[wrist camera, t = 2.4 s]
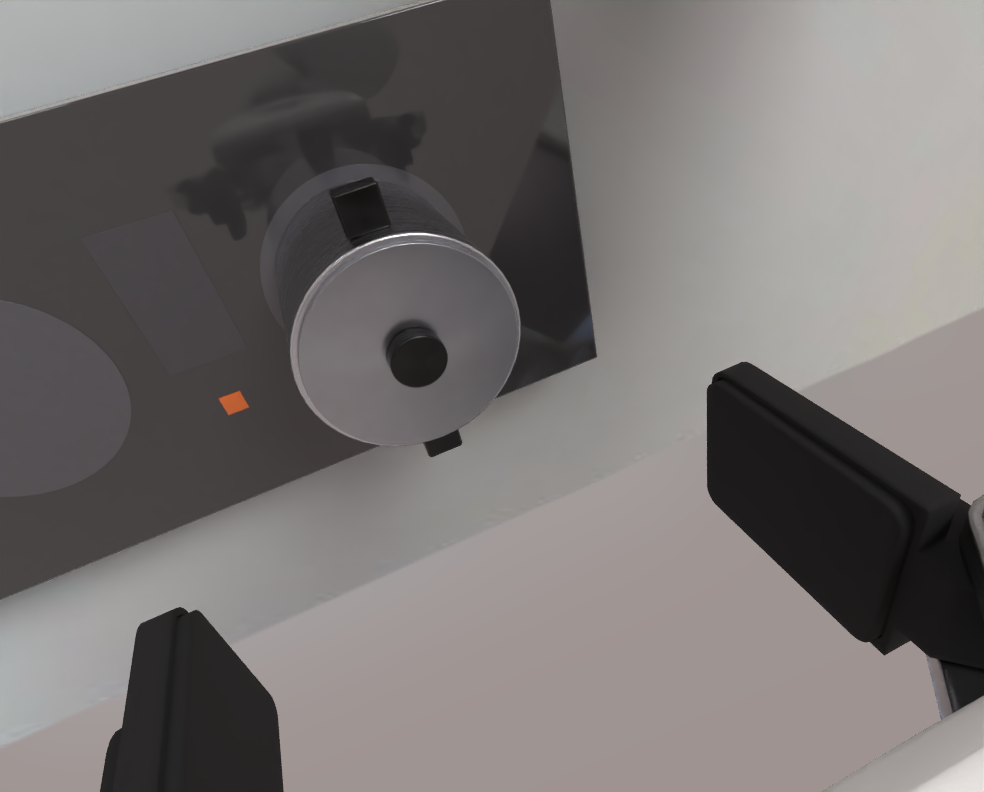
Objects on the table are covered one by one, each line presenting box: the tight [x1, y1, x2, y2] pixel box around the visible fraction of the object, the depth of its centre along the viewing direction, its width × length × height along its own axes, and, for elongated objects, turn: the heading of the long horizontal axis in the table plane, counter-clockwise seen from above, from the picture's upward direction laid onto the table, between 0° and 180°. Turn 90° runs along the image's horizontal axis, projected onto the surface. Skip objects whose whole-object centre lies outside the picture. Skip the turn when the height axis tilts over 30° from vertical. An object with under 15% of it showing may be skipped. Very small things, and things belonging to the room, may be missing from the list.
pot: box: [275, 177, 520, 457], centre depth 19 cm, size 7×9×7 cm
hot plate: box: [0, 0, 597, 600], centre depth 22 cm, size 30×15×2 cm, turn 102°
